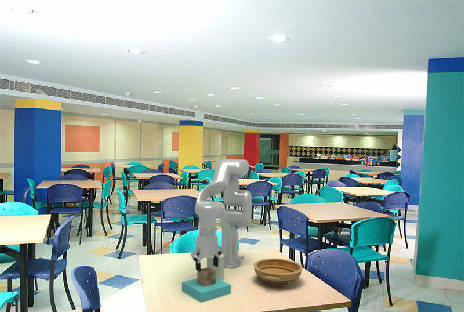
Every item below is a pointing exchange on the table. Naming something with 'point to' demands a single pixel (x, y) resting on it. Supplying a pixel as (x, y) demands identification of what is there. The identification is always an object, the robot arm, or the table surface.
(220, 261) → the can
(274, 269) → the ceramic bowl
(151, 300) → the table surface
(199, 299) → the teal base
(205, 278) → the walnut cube
